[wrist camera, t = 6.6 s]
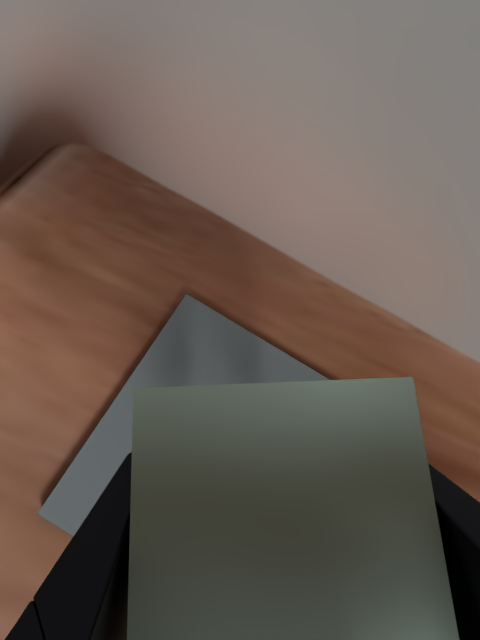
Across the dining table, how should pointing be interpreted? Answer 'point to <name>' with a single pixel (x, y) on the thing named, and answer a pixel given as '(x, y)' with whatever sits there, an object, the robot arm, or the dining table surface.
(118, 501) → the robot arm
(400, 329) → the dining table surface
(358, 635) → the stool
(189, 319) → the mat
